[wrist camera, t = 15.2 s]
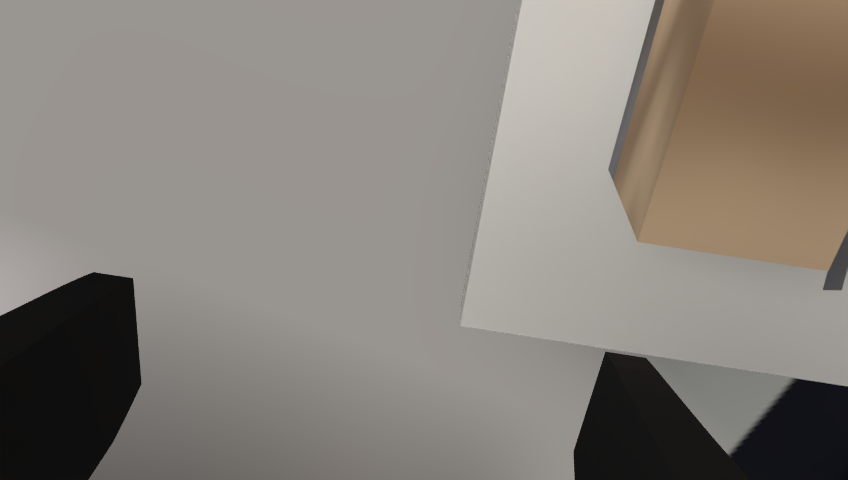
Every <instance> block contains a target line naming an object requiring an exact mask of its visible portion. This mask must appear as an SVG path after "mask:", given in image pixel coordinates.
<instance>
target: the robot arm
mask: <svg viewBox="0 0 848 480" xmlns="http://www.w3.org/2000/svg"><path fill="white" fill-rule="evenodd" d="M140 386H141V374H140V360H139V347H138V335H137V322H136V309H135V297H134V284H133V278H127V277H121V276H114V275H108V274H101V273H95V272H93V273H91V274H88V275H86V276H83V277H81V278H78V279H76V280H74V281H72V282H70V283H67V284H65V285H63V286H61V287H59V288H57V289H55V290H53V291H50V292H48V293H46V294H44V295H42V296H40V297H38V298H36V299H34V300H32V301H30V302H28V303H26V304H24V305H22V306H20V307H18V308H16V309H14V310H12V311H10V312H7V313H6V314H4V315H1V316H0V480H88V479H89V478H90V476H91V475H92V473H93V472H94V470H95V469H96V467H97V466H98V464H99V462H100V461H101V460H102V458H103V457H104V455H105V453H106V452H107V450H108V449H109V447H110V446H111V444H112V443H113V441H114V439H115V437H116V435H117V433H118V431H119V429H120V427H121V425H122V423H123V421H124V419H125V417H126V415H127V413H128V411H129V409H130V407H131V405H132V403H133V401H134V398H135V396H136V394H137V392H138V390H139V388H140ZM574 472H575V480H750V479H749V478H748V477H747V476H746V475H745V473H744V472H743V471H742V470H741V469H740V468H739V467H738V466H737V465H736V464H735V462H734V461H733V460H732V459H731V458H730V457H729V456H728V455H727V453H726V452H725V451H724V450H723V449H722V448H721V447H720V445H719V444H718V443H717V442H716V441H715V440H714V438H712V436H711V435H710V434H709V433H708V431H707V430H706V429H705V428H704V427H703V426H702V424H701V423H700V422H699V421H698V420H697V418H696V417H695V416H694V415H693V414H692V412H691V411H690V410H689V409H688V408H687V406H686V405H685V404H684V403H683V402H682V400H681V399H680V398H679V397H678V395H677V394H676V393H675V392H674V391H673V389H672V388H671V387H670V386H669V385H668V383H667V382H666V381H665V380H664V379H663V377H662V376H661V375H660V374H659V372H658V371H657V370H656V369H655V368H654V367H653V365H652V364H651V363H650V362H649V361H648V360H647V359H646V358H642V357H636V356H629V355H623V354H617V353H610V352H605V355H604V358H603V361H602V364H601V367H600V371H599V374H598V377H597V380H596V383H595V386H594V389H593V392H592V396H591V399H590V402H589V405H588V408H587V411H586V414H585V418H584V421H583V424H582V427H581V430H580V433H579V436H578V439H577V443H576V446H575V449H574Z"/></svg>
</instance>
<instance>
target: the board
mask: <svg viewBox="0 0 848 480" xmlns="http://www.w3.org/2000/svg"><path fill="white" fill-rule="evenodd" d="M654 3H655V0H518V6H517V11H516V16H515V21H514V27H513V32H512V37H511V43H510V48H509V53H508V58H507V64H506V69H505V75H504V80H503V85H502V90H501V96H500V101H499V106H498V111H497V117H496V122H495V128H494V133H493V138H492V143H491V149H490V154H489V159H488V165H487V170H486V175H485V180H484V186H483V191H482V197H481V202H480V207H479V212H478V217H477V223H476V228H475V233H474V239H473V244H472V250H471V255H470V260H469V265H468V271H467V276H466V281H465V286H464V292H463V298H462V302H461V317H460V326H463V327H469V328H475V329H482V330H488V331H494V332H501V333H507V334H514V335H520V336H527V337H533V338H540V339H546V340H552V341H559V342H566V343H572V344H579V345H585V346H592V347H597V348H604V349H610V350H617V351H623V352H630V353H636V354H643V355H649V356H656V357H663V358H668V359H675V360H681V361H688V362H694V363H701V364H707V365H714V366H720V367H727V368H733V369H740V370H746V371H752V372H759V373H765V374H771V375H778V376H784V377H791V378H797V379H804V380H810V381H816V382H823V383H829V384H836V385H842V386H848V231H847V233H846V235H845V237H844V239H843V241H842V243H841V245H840V248H839V250H838V252H837V254H836V256H835V258H834V260H833V262H832V264H831V266H830V269H829V271H824V270H817V269H811V268H804V267H798V266H791V265H785V264H778V263H772V262H765V261H759V260H752V259H746V258H739V257H733V256H726V255H720V254H713V253H707V252H700V251H694V250H687V249H681V248H674V247H668V246H661V245H655V244H648V243H642V242H637V239H636V237H635V234H634V232H633V229H632V227H631V224H630V222H629V219H628V217H627V214H626V212H625V210H624V207H623V205H622V202H621V200H620V197H619V195H618V192H617V190H616V187H615V185H614V182H613V180H612V178H611V175H610V173H609V170H608V168H609V164H610V161H611V157H612V154H613V150H614V147H615V143H616V139H617V136H618V132H619V129H620V125H621V121H622V118H623V114H624V111H625V107H626V103H627V100H628V96H629V93H630V89H631V85H632V82H633V78H634V75H635V71H636V67H637V64H638V60H639V57H640V53H641V49H642V46H643V42H644V39H645V35H646V31H647V28H648V24H649V21H650V17H651V13H652V10H653V6H654Z"/></svg>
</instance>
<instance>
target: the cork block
mask: <svg viewBox="0 0 848 480" xmlns="http://www.w3.org/2000/svg"><path fill="white" fill-rule="evenodd" d="M608 170H609V173H610V175H611V178H612V180H613V182H614V185H615V187H616V190H617V192H618V195H619V197H620V200H621V202H622V205H623V207H624V210H625V212H626V214H627V217H628V219H629V222H630V224H631V227H632V229H633V232H634V234H635V237H636V239H637V242H642V243H648V244H655V245H661V246H668V247H674V248H681V249H687V250H694V251H700V252H707V253H713V254H720V255H726V256H733V257H739V258H746V259H752V260H759V261H765V262H772V263H778V264H785V265H791V266H798V267H804V268H811V269H817V270H824V271H829V269H830V266H831V264H832V262H833V260H834V258H835V256H836V254H837V252H838V250H839V248H840V245H841V243H842V241H843V239H844V237H845V235H846V233H847V231H848V0H655V3H654V6H653V10H652V13H651V17H650V21H649V24H648V28H647V31H646V35H645V39H644V42H643V46H642V49H641V53H640V57H639V60H638V64H637V67H636V71H635V75H634V78H633V82H632V85H631V89H630V93H629V96H628V100H627V103H626V107H625V111H624V114H623V118H622V121H621V125H620V129H619V132H618V136H617V139H616V143H615V147H614V150H613V154H612V157H611V161H610V164H609V168H608Z"/></svg>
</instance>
